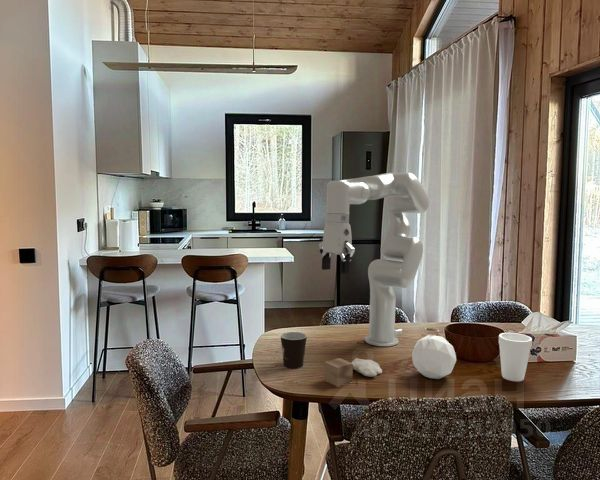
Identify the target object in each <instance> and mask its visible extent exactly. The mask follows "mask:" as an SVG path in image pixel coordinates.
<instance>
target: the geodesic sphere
mask: <svg viewBox="0 0 600 480" xmlns="http://www.w3.org/2000/svg"><path fill="white" fill-rule="evenodd" d="M411 359H412V360H411V362H412V363H413V365H414V367H415V369H416V370H417V371H418V372H419V373H420V374H421V375H422V376H424V378H425V377H426V378H429V379H434V380H440V379H442V378H444V377H446V376H447V375H450V374H451V373H452V372H453V369H454V367H455V364H456V362H457V354H456V352H455V348H454V346H453V345H452V344H451V343H449V341H448V340H447V339H446V338H444V337H443V336H441V335H436V334H432V333H431V334H427V335H426V336H424V337H422V338H420V339H418V340H417V341H416V342H415V345H414V347H413V350H412V353H411Z"/></svg>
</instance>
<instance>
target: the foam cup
mask: <svg viewBox="0 0 600 480" xmlns="http://www.w3.org/2000/svg"><path fill="white" fill-rule="evenodd" d="M532 344H533V337H531V336H528V335H526V334H524V333H520V332H518V333H517V332H502V333H499V335H498V345H499V354H500V355H499V356H500V368H501V376H502V378H503V379H505V380H507V381H511V382H522V381H524V379H525V375H526V372H527V367H528V362H529V356H530V354H531V353H530V352H531V348H532V347H533V346H532Z"/></svg>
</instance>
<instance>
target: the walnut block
mask: <svg viewBox="0 0 600 480" xmlns="http://www.w3.org/2000/svg"><path fill="white" fill-rule="evenodd" d="M353 370H354V369H353V364H352V362H350V361H348V360H346V359H343V358H340V357H338V358H334V359H331V360H327V361H325V362H324V374H323V375H324V380H323V381H324V382H326V381H327V383H328V382H329V383H328V384H330V383H331V384H330V385H332V384H333V385H332V386H334V385H335V386H334V387H336V386H337V387H336V388H339V387H341V386H340V385H343V384H346V385H348V384H347V383H349V384H351V383H350V382H352V383H353ZM338 386H339V387H338ZM343 386H344V385H343Z"/></svg>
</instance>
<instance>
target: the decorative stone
mask: <svg viewBox="0 0 600 480" xmlns="http://www.w3.org/2000/svg"><path fill="white" fill-rule="evenodd" d="M351 363H352V364H353V370H355V371H356V372H357V373H360V374H361V375H363V376H364V377H376V376H378V375H379V374H382V373H383V369H382V368H381V367H380V366H381V365H380V364H379V363H378V362H376V361H374V360H372V359H362V358H357V357H356V358H354V360H352V361H351Z"/></svg>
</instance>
